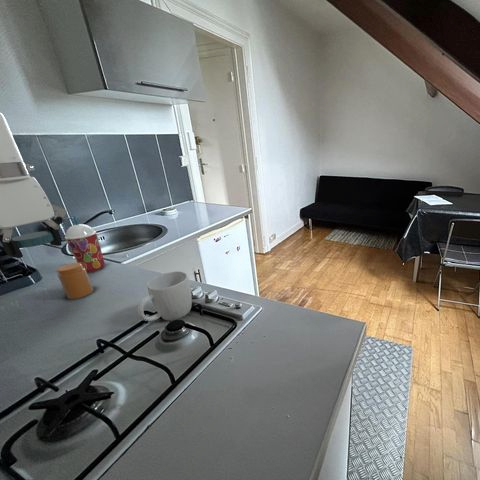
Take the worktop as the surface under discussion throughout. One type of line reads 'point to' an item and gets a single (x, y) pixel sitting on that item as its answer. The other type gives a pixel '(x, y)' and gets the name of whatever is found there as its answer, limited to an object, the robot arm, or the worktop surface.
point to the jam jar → (75, 280)
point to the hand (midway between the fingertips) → (37, 250)
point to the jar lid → (33, 239)
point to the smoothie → (85, 246)
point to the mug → (168, 296)
